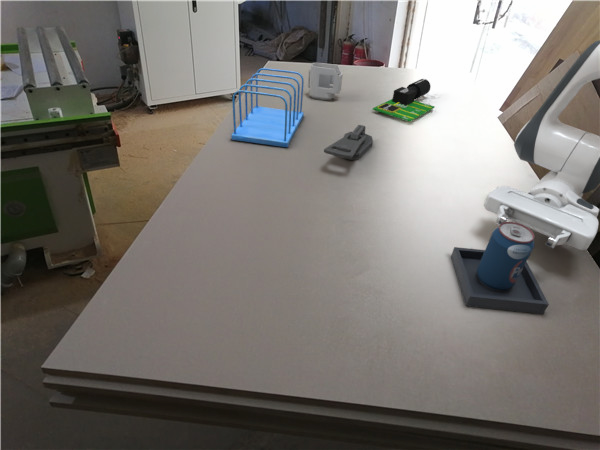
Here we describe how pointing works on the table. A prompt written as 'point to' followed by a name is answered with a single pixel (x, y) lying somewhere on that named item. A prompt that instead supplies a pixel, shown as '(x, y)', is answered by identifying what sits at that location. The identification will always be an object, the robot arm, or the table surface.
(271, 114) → the file sorter
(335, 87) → the cable organizer
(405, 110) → the circuit board with cylinder
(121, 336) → the table surface
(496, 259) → the soda can
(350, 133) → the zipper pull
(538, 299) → the tray
